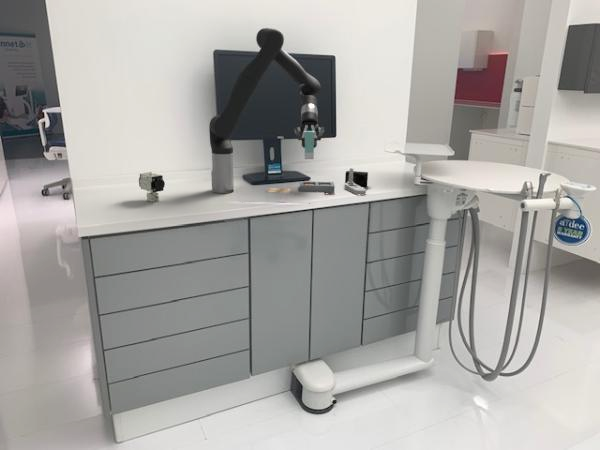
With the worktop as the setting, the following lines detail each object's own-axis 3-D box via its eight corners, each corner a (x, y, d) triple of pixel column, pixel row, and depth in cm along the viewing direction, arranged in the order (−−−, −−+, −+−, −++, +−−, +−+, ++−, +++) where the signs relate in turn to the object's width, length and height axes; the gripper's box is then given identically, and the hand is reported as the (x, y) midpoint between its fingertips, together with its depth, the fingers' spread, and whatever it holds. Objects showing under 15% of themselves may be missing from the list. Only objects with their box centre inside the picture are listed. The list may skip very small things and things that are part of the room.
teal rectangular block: (304, 159, 212) (304, 131, 208) (304, 157, 216) (304, 130, 212) (313, 159, 212) (314, 131, 208) (313, 157, 216) (313, 130, 212)
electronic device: (358, 175, 209) (343, 167, 223) (356, 196, 213) (342, 188, 226) (369, 174, 211) (354, 167, 224) (367, 195, 214) (352, 187, 228)
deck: (267, 194, 211) (267, 192, 211) (268, 190, 219) (268, 188, 218) (289, 194, 211) (289, 192, 211) (290, 190, 218) (290, 188, 218)
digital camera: (344, 187, 228) (345, 172, 226) (345, 184, 233) (346, 170, 231) (366, 188, 226) (367, 174, 224) (367, 186, 231) (368, 172, 229)
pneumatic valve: (149, 197, 201) (147, 169, 198) (166, 202, 194) (164, 173, 191) (138, 199, 197) (135, 171, 194) (154, 204, 190) (152, 175, 187)
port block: (299, 193, 214) (299, 184, 213) (299, 188, 223) (300, 180, 222) (334, 193, 214) (334, 185, 213) (333, 189, 223) (333, 181, 222)
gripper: (293, 110, 215) (293, 141, 207) (325, 110, 215) (325, 141, 207) (293, 121, 222) (293, 151, 214) (324, 121, 222) (325, 152, 214)
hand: (309, 146), depth 210 cm, fingers closed on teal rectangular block, 4 cm apart
